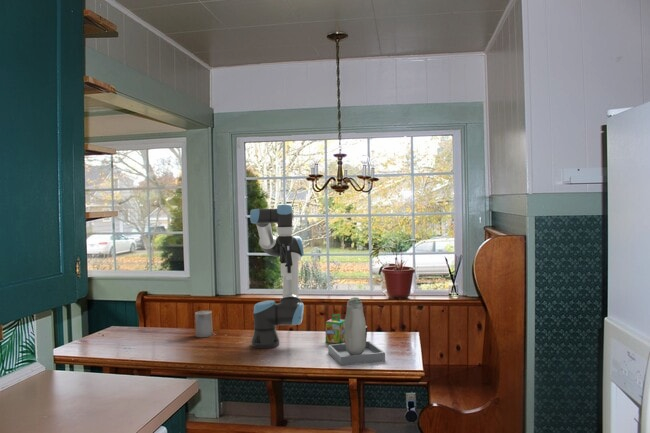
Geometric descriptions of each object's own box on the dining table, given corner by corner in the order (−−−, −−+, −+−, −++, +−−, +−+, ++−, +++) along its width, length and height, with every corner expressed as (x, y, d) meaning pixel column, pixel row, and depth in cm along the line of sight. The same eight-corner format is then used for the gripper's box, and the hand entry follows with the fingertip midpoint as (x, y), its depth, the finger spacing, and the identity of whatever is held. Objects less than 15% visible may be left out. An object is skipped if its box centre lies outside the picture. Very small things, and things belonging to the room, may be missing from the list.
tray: (328, 352, 267) (328, 345, 267) (369, 348, 273) (369, 341, 273) (341, 365, 246) (340, 357, 246) (385, 360, 251) (385, 352, 251)
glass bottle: (363, 358, 253) (361, 300, 252) (342, 356, 256) (341, 299, 256) (368, 352, 262) (367, 296, 262) (348, 351, 266) (347, 295, 265)
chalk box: (325, 342, 286) (324, 315, 286) (331, 338, 295) (330, 312, 294) (341, 344, 283) (340, 316, 283) (347, 340, 291) (346, 313, 291)
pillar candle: (205, 332, 315) (203, 307, 315) (216, 334, 310) (215, 309, 309) (192, 336, 308) (191, 310, 307) (203, 338, 302) (202, 312, 301)
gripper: (297, 236, 253) (298, 280, 254) (287, 233, 277) (288, 274, 278) (282, 237, 251) (283, 281, 252) (273, 234, 275) (274, 275, 276)
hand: (286, 277), depth 265 cm, fingers open, 13 cm apart
